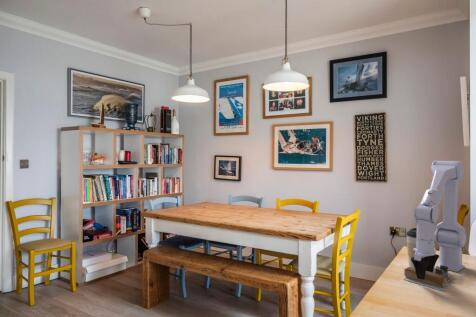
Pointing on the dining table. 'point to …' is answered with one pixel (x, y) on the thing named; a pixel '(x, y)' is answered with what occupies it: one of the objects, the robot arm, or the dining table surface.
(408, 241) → the coffee cup
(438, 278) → the rail
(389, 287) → the dining table surface
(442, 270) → the stand
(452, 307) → the dining table surface
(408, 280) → the mat
